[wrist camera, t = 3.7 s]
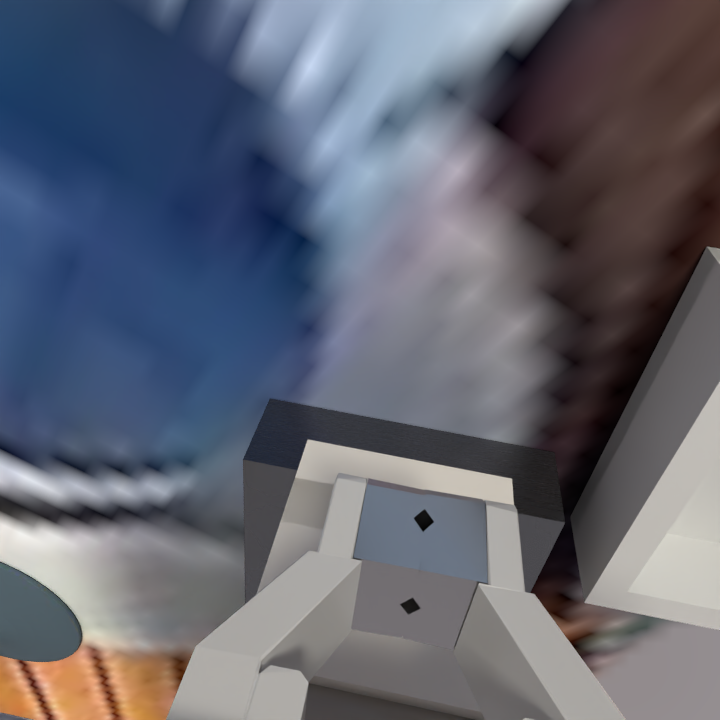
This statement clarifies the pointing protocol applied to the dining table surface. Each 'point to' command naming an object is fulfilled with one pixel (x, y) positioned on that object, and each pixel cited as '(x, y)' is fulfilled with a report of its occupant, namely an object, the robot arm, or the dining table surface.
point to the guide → (301, 423)
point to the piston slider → (363, 649)
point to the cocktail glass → (34, 620)
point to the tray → (662, 476)
